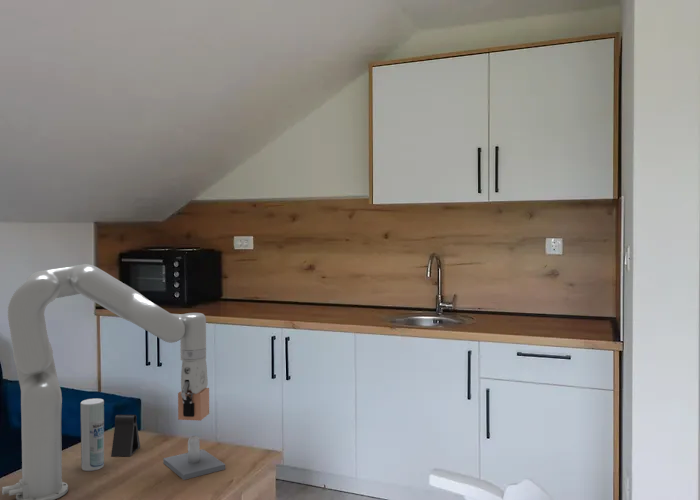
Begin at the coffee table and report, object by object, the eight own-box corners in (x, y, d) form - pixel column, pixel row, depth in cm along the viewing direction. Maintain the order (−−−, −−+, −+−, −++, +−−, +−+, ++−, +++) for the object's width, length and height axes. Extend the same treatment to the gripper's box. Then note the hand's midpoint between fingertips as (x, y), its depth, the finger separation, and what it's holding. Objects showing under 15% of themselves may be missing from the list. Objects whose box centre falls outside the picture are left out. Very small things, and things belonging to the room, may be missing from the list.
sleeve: (200, 420, 177) (200, 393, 177) (178, 419, 178) (178, 393, 178) (209, 413, 184) (209, 387, 184) (187, 412, 185) (187, 387, 185)
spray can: (92, 461, 185) (91, 397, 185) (109, 464, 183) (108, 399, 183) (76, 469, 179) (75, 403, 178) (93, 472, 177) (93, 405, 176)
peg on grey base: (183, 479, 171) (183, 448, 171) (163, 463, 184) (163, 433, 184) (225, 469, 179) (225, 438, 179) (203, 453, 192) (202, 425, 192)
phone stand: (122, 446, 198) (122, 410, 198) (140, 446, 198) (140, 410, 198) (110, 456, 189) (110, 419, 189) (129, 456, 189) (129, 419, 189)
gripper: (194, 360, 172) (194, 421, 172) (215, 349, 189) (215, 404, 189) (169, 359, 173) (169, 420, 173) (192, 348, 190) (193, 404, 190)
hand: (193, 412), depth 181 cm, fingers closed on sleeve, 7 cm apart
